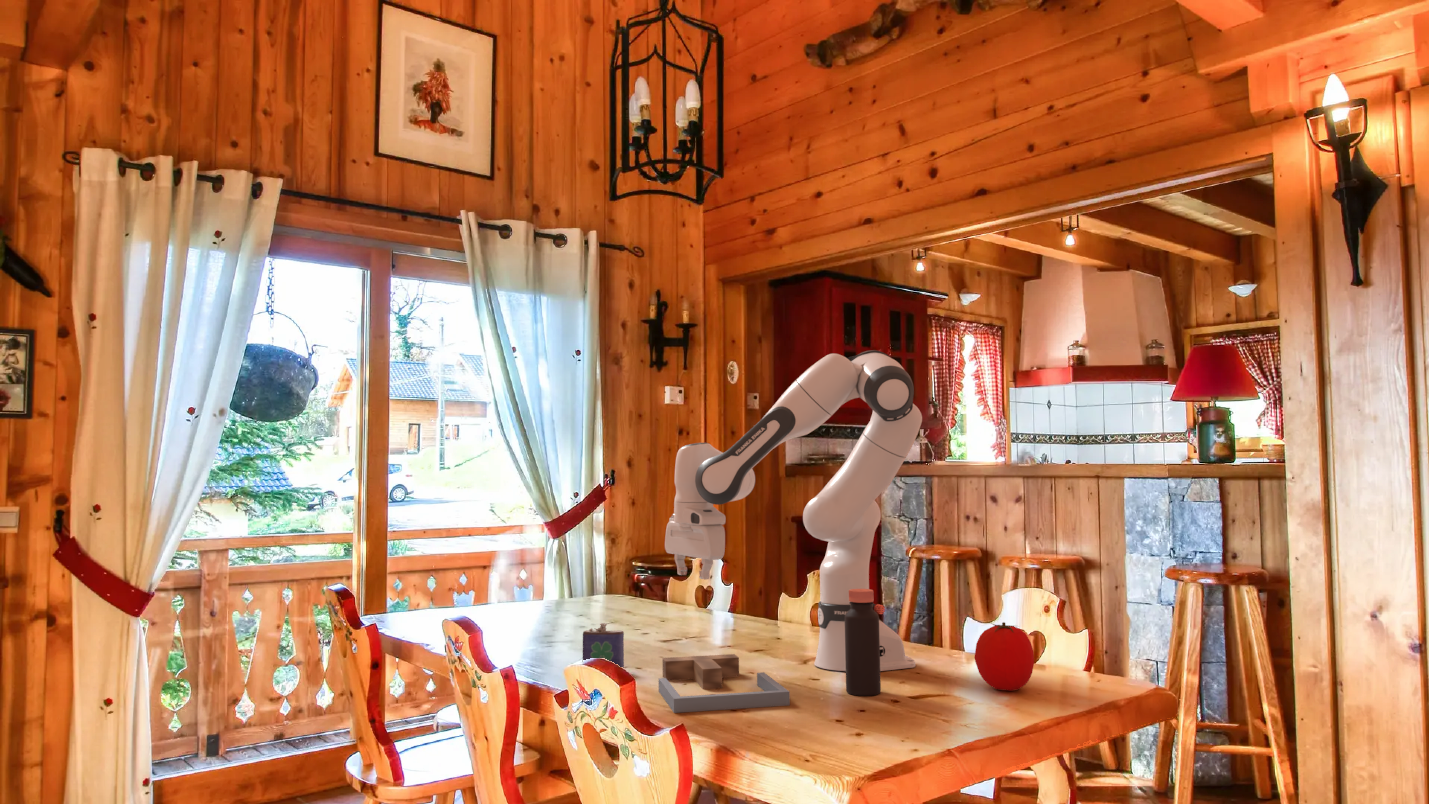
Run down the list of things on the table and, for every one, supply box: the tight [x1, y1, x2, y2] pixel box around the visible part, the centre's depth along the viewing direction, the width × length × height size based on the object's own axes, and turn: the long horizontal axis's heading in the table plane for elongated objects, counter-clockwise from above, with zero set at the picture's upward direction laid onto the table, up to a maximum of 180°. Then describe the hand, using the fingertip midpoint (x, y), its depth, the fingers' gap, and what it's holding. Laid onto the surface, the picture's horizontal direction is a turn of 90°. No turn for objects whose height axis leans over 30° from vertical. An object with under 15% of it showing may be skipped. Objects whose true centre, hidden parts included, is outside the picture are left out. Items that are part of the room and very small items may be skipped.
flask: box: [582, 622, 625, 669], centre depth 208 cm, size 9×3×11 cm, turn 87°
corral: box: [658, 671, 791, 714], centre depth 182 cm, size 22×18×2 cm
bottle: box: [845, 588, 882, 697], centre depth 186 cm, size 7×7×20 cm
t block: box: [662, 653, 740, 690], centre depth 197 cm, size 16×14×4 cm
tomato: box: [974, 621, 1035, 692], centre depth 187 cm, size 12×12×13 cm
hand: (693, 576), depth 210 cm, fingers open, 8 cm apart
